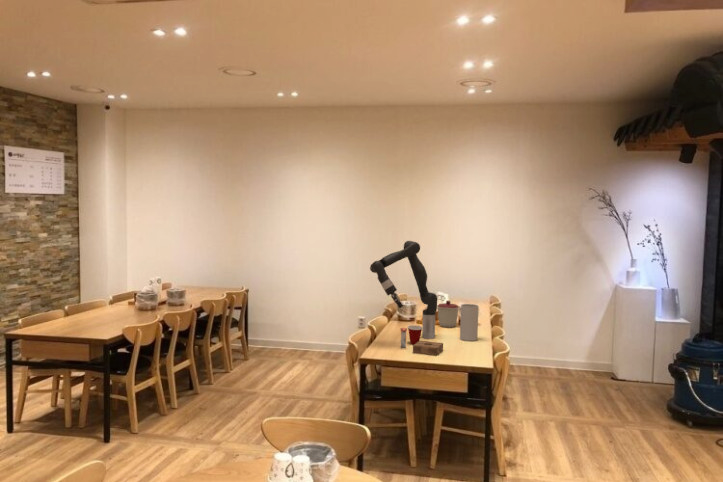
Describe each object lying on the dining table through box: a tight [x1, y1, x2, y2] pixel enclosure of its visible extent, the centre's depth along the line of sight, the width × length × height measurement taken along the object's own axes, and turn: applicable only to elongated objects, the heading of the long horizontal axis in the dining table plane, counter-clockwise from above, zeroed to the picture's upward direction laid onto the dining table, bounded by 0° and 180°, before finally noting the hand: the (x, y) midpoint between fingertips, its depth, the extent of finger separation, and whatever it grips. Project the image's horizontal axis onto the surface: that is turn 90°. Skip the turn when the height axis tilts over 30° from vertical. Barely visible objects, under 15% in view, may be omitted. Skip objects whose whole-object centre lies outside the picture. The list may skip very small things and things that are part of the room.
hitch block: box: [412, 340, 444, 357], centre depth 378 cm, size 16×16×5 cm
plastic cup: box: [407, 324, 423, 345], centre depth 400 cm, size 11×11×12 cm
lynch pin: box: [399, 327, 408, 349], centre depth 387 cm, size 4×4×13 cm
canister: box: [437, 300, 460, 328], centre depth 464 cm, size 18×18×21 cm
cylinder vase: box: [459, 303, 479, 342], centre depth 417 cm, size 12×12×25 cm
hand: (401, 307), depth 391 cm, fingers open, 8 cm apart
